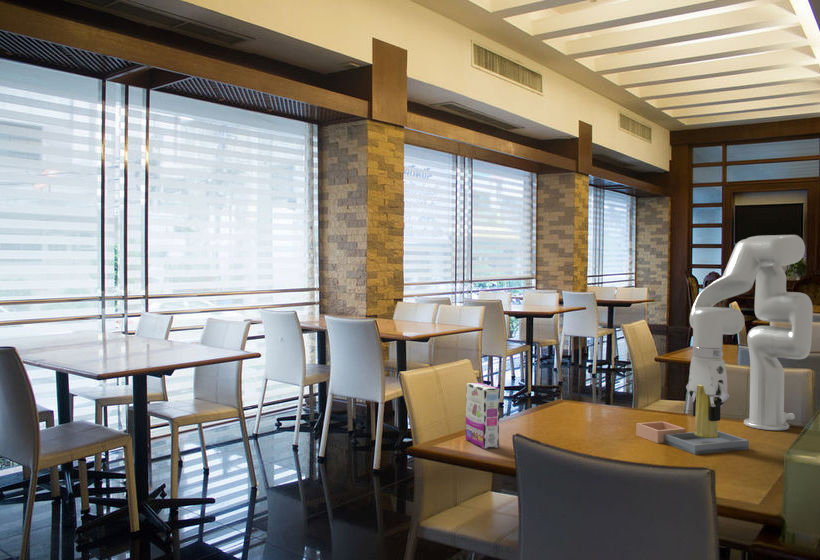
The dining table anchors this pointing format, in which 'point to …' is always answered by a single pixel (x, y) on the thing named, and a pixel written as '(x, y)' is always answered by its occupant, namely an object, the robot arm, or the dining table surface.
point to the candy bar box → (482, 415)
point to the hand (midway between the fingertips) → (706, 417)
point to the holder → (657, 430)
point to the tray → (706, 443)
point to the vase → (704, 416)
